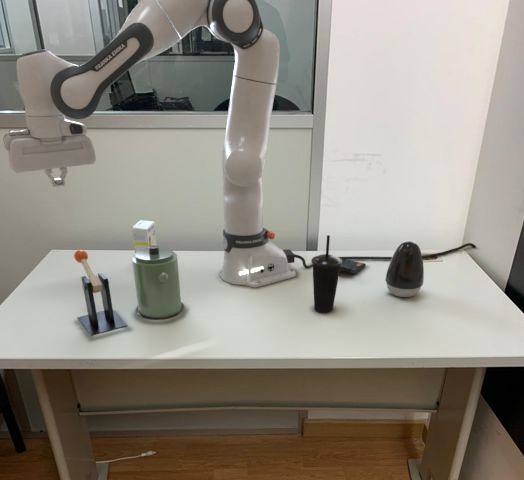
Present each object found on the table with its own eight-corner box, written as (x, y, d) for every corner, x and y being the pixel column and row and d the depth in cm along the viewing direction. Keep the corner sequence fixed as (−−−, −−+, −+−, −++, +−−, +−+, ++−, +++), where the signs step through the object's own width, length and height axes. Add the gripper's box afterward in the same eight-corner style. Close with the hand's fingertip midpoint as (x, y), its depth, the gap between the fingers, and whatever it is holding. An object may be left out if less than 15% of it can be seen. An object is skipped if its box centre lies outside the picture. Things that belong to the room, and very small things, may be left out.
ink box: (151, 265, 166) (146, 228, 160) (135, 265, 166) (131, 228, 160) (158, 255, 173) (154, 220, 167) (143, 255, 174) (139, 219, 168)
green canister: (130, 303, 142) (121, 239, 133) (175, 296, 147) (169, 233, 137) (144, 332, 129) (135, 263, 119) (193, 323, 133) (189, 256, 124)
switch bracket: (78, 321, 134) (68, 274, 127) (112, 312, 138) (105, 266, 131) (91, 339, 126) (82, 290, 119) (128, 329, 130) (121, 281, 123)
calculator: (365, 266, 165) (366, 257, 164) (349, 278, 157) (350, 269, 155) (338, 260, 169) (338, 251, 168) (321, 272, 161) (322, 262, 159)
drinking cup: (340, 305, 142) (346, 232, 132) (334, 317, 136) (340, 242, 125) (313, 301, 144) (316, 229, 134) (305, 313, 138) (309, 238, 127)
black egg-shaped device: (379, 297, 146) (386, 244, 138) (388, 283, 154) (395, 232, 146) (416, 304, 142) (425, 250, 134) (424, 289, 150) (433, 238, 143)
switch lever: (72, 258, 132) (72, 248, 129) (85, 255, 133) (85, 245, 131) (91, 294, 126) (90, 285, 124) (104, 291, 128) (104, 282, 125)
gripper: (3, 133, 120) (18, 194, 127) (92, 125, 130) (101, 183, 137) (-2, 129, 125) (12, 189, 132) (85, 122, 134) (93, 178, 141)
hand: (58, 186), depth 134 cm, fingers closed
